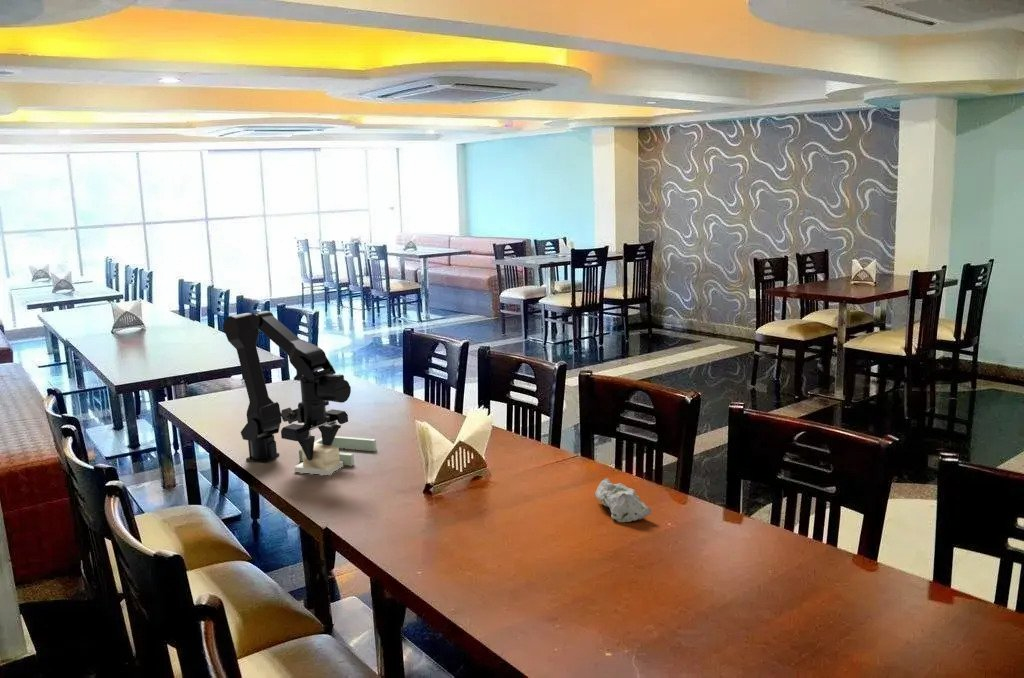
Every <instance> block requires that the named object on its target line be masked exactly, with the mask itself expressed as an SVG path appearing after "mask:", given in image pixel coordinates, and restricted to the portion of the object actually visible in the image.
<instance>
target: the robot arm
mask: <svg viewBox="0 0 1024 678" xmlns="http://www.w3.org/2000/svg"><path fill="white" fill-rule="evenodd" d="M222 326H223V330H224V333H225V336H226V338H227V341H228V342H229V343H230V344H231V345H232V347H234V349H236V352H237V357H238V361H239V365H240V368H241V371H242V377H243V380H244V384H245V385H244V386H245V389H246V394H247V397H248V400H249V403H248V408H247V411H246V421H247V422H246V424H245V426H244V427H243V428H242V429H241V430H240V435H241V438H242V440H245V441H247V442H248V443H247V444H248V445H247V446H248V454H249V456H248V457H246V458H245V461H247V462H257V463H268V462H270V461H271V460H273V459H275V458H277V457H278V456H280V453H279V452H278V450H277V442H276V440H275V435H276V434H278V433H279V431H280V436H281V437H280V438H281V439H283V440H289V441H292V442H293V441H295V442H298V444H299V445H300V447H301V449H303V451H304V453H305V455H306V457H307V459H308V460H309V461H311V460H312V457H313V449H314V442H315V441H316V439H315V438H316V437H315V436H316V435H315V436H314V435H311V434H312V433H311V431H312V430H315V429H318V430H319V431H320V435H321V438H322V444H324V445H329V446H331V445H332V442H333V440H334V438H335V436H337V434H338V431H339V430H340V429H341V427H342V425H343V424H345V423H348V422H349V415H348V412H346V411H345V410H340V409H333V408H332V409H329V410H327V408H326V407H327V406H330V402H335V403H340V404H343V403H346V401H348V400H349V398H350V396H351V392H352V389H351V388H352V387H351V386H350V383H349V381H347V380H346V379H345V376H344V374H336V370H335V368H334V366H333V364H331V362H330V360H329V359H328V357H327V356H326V353H325V351H324V350H323V349H322V348H320V347H319V346H318V345H316V344H313V343H311V342H307V341H304V340H303V339H301V338H299V337H298V336H297V335H296V334H295V333H294V332H293V331H291V330H290V329H289V328H288V327H287V326H285V324H283V323H282V322H281V321H279V320H278V319H277V318H276V317H275V316H274V314H273V313H272V311H269V310H264V311H262V310H261V311H258V312H254V313H253V314H252V313H251V312H245V313H243V312H242V313H238V314H234V315H229V316H227V317H226V318H225V320H224V322H223V325H222ZM260 332H261V333H263V334H264V335H265V336H266V337H267V338H268V339H269V340H270V341H271V342H273V343H274V344H275V345H276V346H277V347H278V348H280V349H281V350H282V351H283V352H284V353H285V354H287V356H288V359H289V364H291V366H293V367H294V369H295V370H296V372H297V374H296V375H295V376H294V377H293V380H294V381H299V382H300V394H301V396H300V397H301V401H299V402H298V404H297V408H295V409H292V408H291V407H287V408H286V407H285V408H284V409H281V408H280V404H279V402H278V401H277V402H274V401H273V400H272V399H271V398H270V397H269V393H268V389H267V385H266V382H265V381H266V380H265V377H264V376H265V375H264V373H263V369H262V366H261V360H260V356H259V353H258V349H257V342H258V339H259V335H260ZM282 421H283V422H284V423H287V422H288V425H286V426H283V428H281V424H282ZM295 422H297V424H296V423H295ZM298 423H299V424H298ZM280 428H281V430H280Z"/></svg>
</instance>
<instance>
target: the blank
mask: <svg viewBox="0 0 1024 678" xmlns="http://www.w3.org/2000/svg"><path fill="white" fill-rule="evenodd" d="M301 449H302V448H301ZM339 453H340V448H339V447H335V446H329V445H324V444H318V443H314V449H313V457H312V460H311V461H309V460H308V459H307V457H306V455H305V453H304V451H303V449H302V459H303V465H304V466H309V467H314V468H318V469H323V470H328V469H330V468H332V467H334V466H337V465H339V464H340V458H339Z"/></svg>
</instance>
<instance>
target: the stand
mask: <svg viewBox="0 0 1024 678" xmlns="http://www.w3.org/2000/svg"><path fill="white" fill-rule="evenodd" d="M341 467H342V468H344V466H343V461H340V464H339V465H337V466H334V467H332V468H330V469H328V470H323V469H318V468H314V467H309V466H304V465H303V462H302V461H301V462H300V463H299V464H297V465H295V466H294V470H293V471H294V473H295V472H300V473H299V474H303V473H310V474H309V475H313V474H321V475H320V476H323V475H330V474H331V473H333V472H334V471H336V470H337V469H339V468H340V469H342V468H341ZM340 469H339V470H340ZM337 471H338V470H337ZM337 471H336V472H337ZM312 473H313V474H312ZM334 473H335V472H334ZM334 473H333V474H334ZM331 475H332V474H331ZM331 475H330V476H331Z"/></svg>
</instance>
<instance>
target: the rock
mask: <svg viewBox="0 0 1024 678" xmlns="http://www.w3.org/2000/svg"><path fill="white" fill-rule="evenodd" d="M594 495H595V497H596V499H597V500H599V501H600V502H601V503H602V504H603V505H604V506H605V507H607V508H608V507H609V510H610V513H611V515H610V517H611V518H612V520H616V522H618V523H626V522H627V523H630V522H632V521H637V520H642V519H643V518H645V517H648V516H651V514H652V513H651V512H652V509H651V508H650V507H649V506H648V505H647V504H645V503H644V502H643V501H642V500H641V499H640V496H639V495H637V492H636V490H635V489H633V488H630V487H627V486H626V485H625V484H622V483H620V482H619V483H612V482H611V481H610V479H609V478H608V477H606V478H603V480H601V481H600V483H599V484H598V486H597V488H596V491H595V493H594Z"/></svg>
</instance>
